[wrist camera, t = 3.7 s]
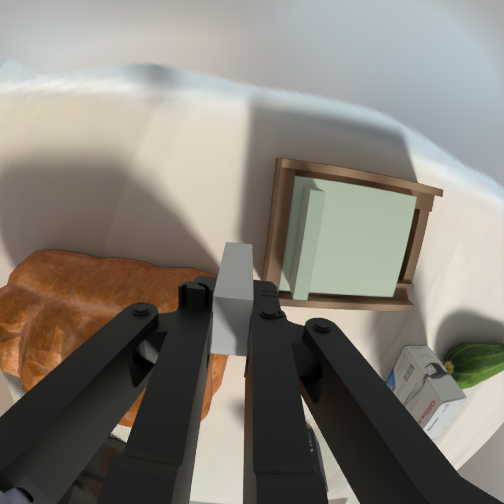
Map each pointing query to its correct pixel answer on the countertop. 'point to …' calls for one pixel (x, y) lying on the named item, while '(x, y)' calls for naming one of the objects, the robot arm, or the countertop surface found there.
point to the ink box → (425, 388)
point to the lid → (344, 239)
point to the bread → (81, 311)
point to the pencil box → (290, 168)
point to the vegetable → (474, 363)
